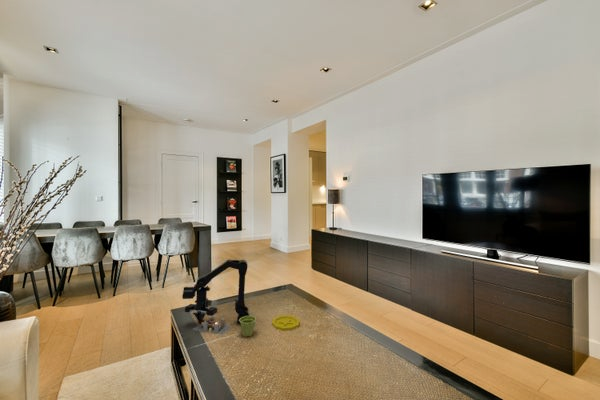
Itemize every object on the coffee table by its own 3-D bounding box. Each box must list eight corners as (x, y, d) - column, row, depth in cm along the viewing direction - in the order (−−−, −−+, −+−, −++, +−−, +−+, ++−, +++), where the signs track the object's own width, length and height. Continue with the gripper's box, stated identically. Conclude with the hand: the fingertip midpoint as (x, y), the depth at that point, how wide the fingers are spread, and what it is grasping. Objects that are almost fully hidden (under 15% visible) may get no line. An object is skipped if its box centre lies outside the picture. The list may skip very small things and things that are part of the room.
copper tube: (222, 327, 158) (223, 320, 158) (219, 330, 154) (219, 324, 154) (204, 325, 160) (204, 318, 160) (200, 328, 157) (201, 321, 157)
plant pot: (235, 335, 152) (235, 320, 151) (246, 328, 160) (246, 314, 160) (248, 340, 147) (248, 324, 147) (258, 332, 155) (259, 318, 155)
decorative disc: (300, 319, 175) (300, 316, 175) (297, 332, 158) (297, 329, 157) (275, 317, 177) (275, 314, 177) (269, 330, 159) (269, 327, 159)
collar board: (231, 328, 160) (231, 318, 160) (223, 336, 150) (223, 326, 150) (201, 323, 164) (201, 314, 164) (191, 331, 155) (192, 322, 155)
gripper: (222, 295, 165) (221, 320, 165) (195, 291, 169) (194, 316, 169) (212, 301, 154) (211, 328, 154) (184, 297, 158) (183, 324, 158)
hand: (200, 323), depth 159 cm, fingers closed
